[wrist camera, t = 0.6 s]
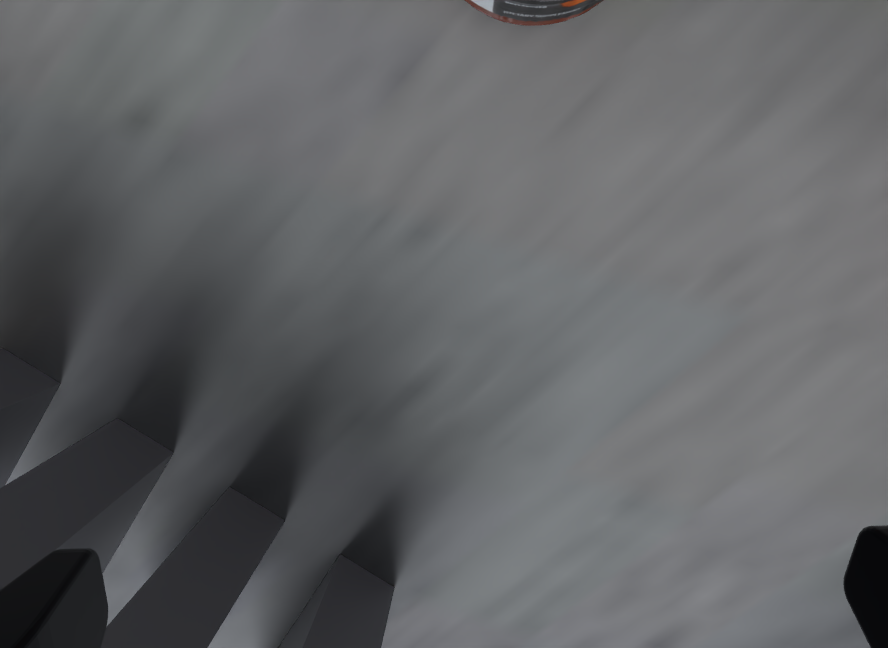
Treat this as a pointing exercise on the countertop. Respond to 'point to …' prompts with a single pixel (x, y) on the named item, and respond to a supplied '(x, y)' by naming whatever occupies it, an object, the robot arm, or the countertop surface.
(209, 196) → the countertop surface
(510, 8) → the supplement bottle
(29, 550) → the domino
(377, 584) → the domino
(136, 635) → the domino
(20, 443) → the domino
